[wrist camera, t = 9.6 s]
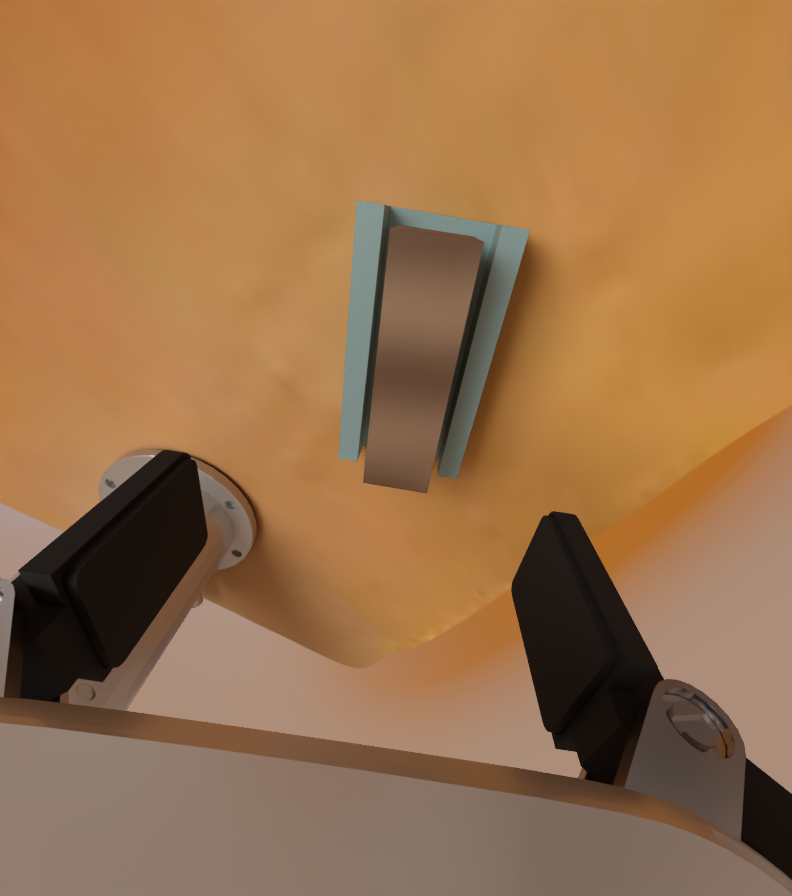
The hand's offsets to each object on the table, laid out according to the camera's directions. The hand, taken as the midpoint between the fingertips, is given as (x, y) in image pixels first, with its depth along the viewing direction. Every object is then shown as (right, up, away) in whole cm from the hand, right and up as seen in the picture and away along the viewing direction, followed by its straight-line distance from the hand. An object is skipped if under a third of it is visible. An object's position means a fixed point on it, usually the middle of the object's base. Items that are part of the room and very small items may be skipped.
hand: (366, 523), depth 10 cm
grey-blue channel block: (+2, +8, +12) cm, 14 cm away
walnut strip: (+2, +8, +11) cm, 13 cm away
